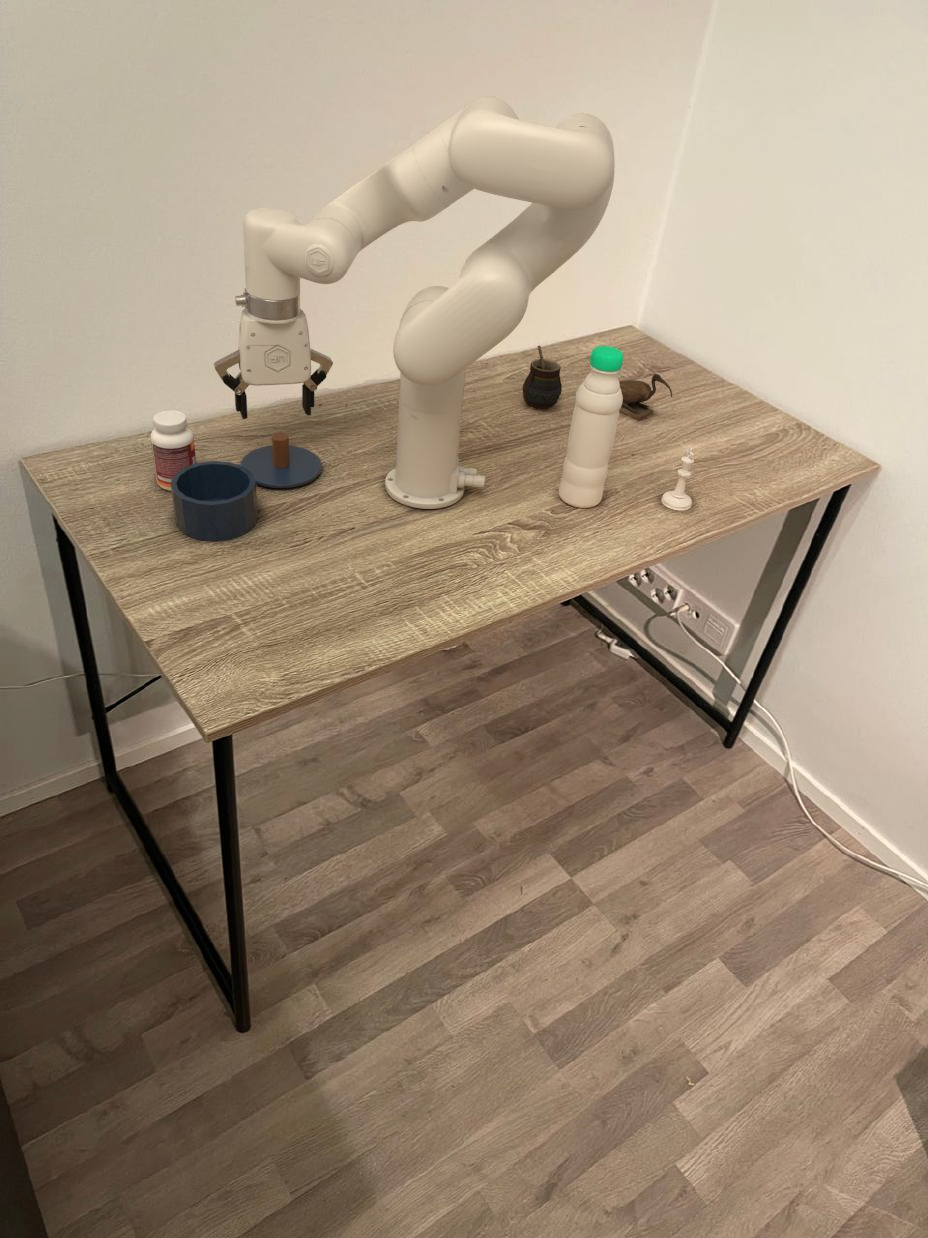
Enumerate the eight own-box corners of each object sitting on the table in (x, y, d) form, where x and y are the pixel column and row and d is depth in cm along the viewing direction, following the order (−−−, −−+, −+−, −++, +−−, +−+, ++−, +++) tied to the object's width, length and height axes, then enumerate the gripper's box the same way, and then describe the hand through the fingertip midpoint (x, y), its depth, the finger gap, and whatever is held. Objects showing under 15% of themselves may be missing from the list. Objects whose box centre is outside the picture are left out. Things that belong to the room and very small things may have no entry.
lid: (326, 453, 154) (325, 420, 150) (315, 494, 144) (315, 460, 141) (249, 447, 154) (247, 413, 150) (233, 487, 144) (231, 453, 140)
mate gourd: (534, 416, 171) (541, 365, 165) (512, 398, 176) (518, 348, 169) (566, 410, 174) (574, 359, 168) (543, 392, 179) (551, 342, 173)
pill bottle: (204, 487, 143) (198, 422, 136) (165, 496, 140) (156, 431, 133) (189, 468, 147) (182, 404, 140) (151, 477, 144) (141, 412, 137)
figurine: (671, 422, 174) (682, 379, 168) (658, 429, 171) (668, 385, 166) (611, 394, 181) (620, 352, 175) (597, 401, 178) (606, 358, 173)
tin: (263, 500, 142) (261, 464, 138) (249, 544, 133) (246, 507, 129) (186, 494, 141) (182, 458, 137) (167, 538, 132) (161, 500, 128)
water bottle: (605, 492, 152) (636, 346, 136) (596, 514, 147) (627, 365, 131) (563, 482, 154) (590, 336, 138) (553, 503, 148) (579, 354, 133)
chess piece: (673, 513, 149) (688, 458, 143) (655, 497, 153) (669, 443, 146) (697, 507, 151) (713, 453, 145) (678, 492, 155) (693, 438, 148)
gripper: (214, 315, 126) (221, 428, 137) (339, 312, 132) (336, 421, 143) (206, 294, 132) (214, 404, 143) (327, 292, 137) (325, 398, 148)
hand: (275, 412), depth 143 cm, fingers open, 9 cm apart
